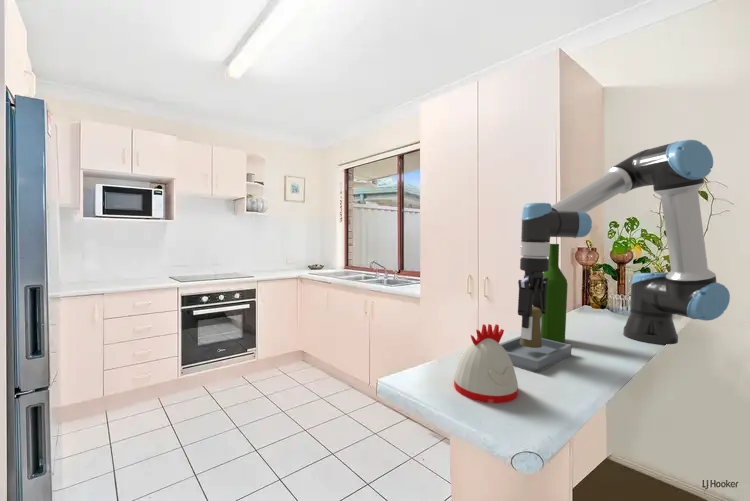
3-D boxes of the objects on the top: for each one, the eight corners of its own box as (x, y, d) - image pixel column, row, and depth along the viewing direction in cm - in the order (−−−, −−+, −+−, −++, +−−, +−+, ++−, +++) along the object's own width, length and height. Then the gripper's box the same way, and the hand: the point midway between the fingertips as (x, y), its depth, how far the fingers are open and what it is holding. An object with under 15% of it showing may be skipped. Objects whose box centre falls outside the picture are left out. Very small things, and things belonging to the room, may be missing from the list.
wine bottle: (559, 336, 124) (563, 243, 123) (569, 344, 116) (573, 244, 114) (532, 335, 126) (536, 243, 124) (539, 342, 117) (543, 244, 116)
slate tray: (525, 343, 116) (525, 334, 116) (571, 354, 106) (571, 344, 106) (488, 358, 102) (488, 347, 102) (537, 373, 91) (537, 361, 91)
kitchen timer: (531, 399, 77) (534, 330, 76) (475, 407, 73) (477, 334, 72) (492, 374, 90) (494, 315, 89) (443, 379, 86) (445, 318, 86)
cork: (544, 348, 100) (546, 309, 100) (521, 346, 101) (523, 308, 101) (539, 342, 106) (540, 305, 105) (517, 340, 107) (519, 304, 107)
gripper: (536, 255, 111) (532, 329, 112) (506, 257, 99) (502, 339, 100) (561, 257, 106) (557, 334, 107) (532, 259, 94) (529, 346, 95)
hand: (531, 336), depth 104 cm, fingers closed on cork, 5 cm apart
